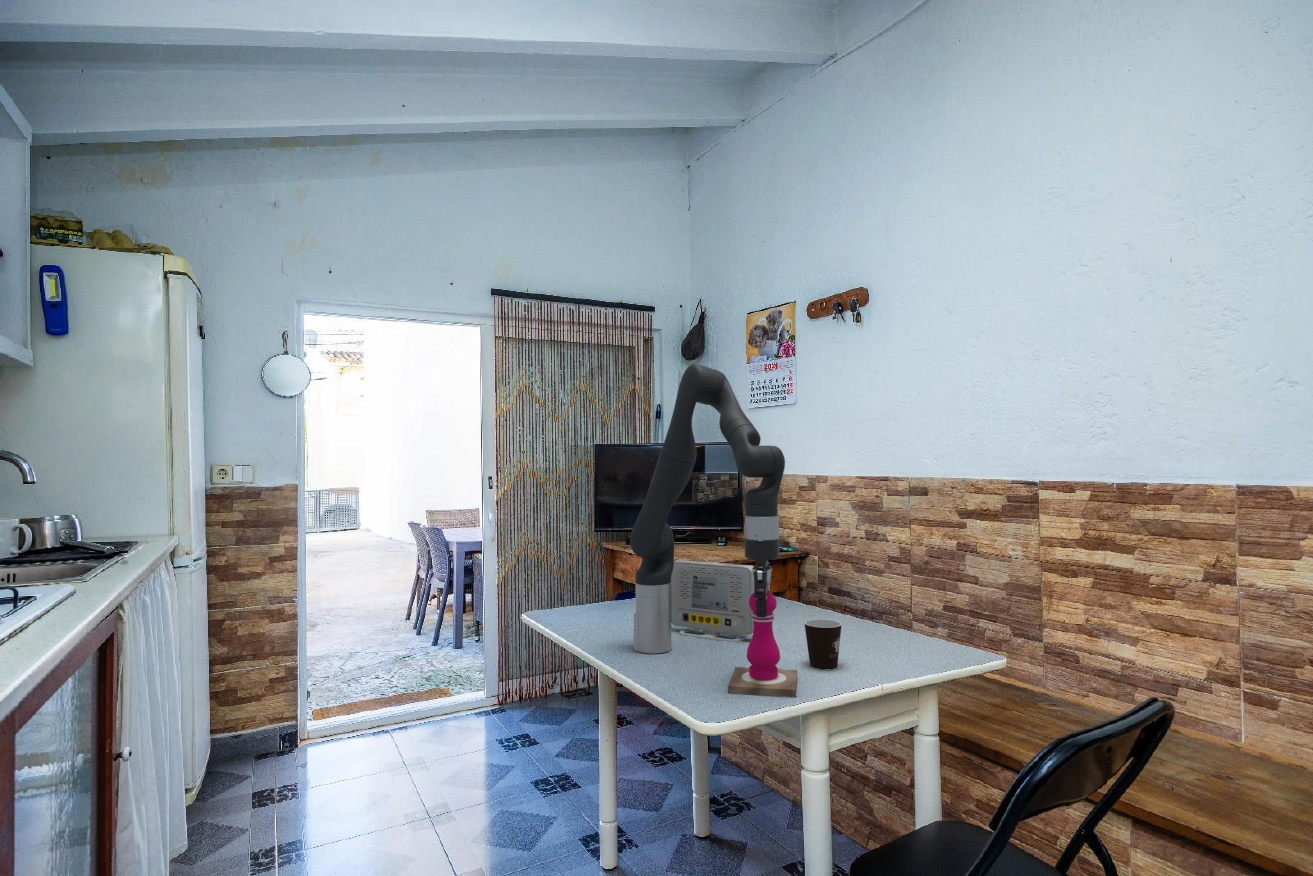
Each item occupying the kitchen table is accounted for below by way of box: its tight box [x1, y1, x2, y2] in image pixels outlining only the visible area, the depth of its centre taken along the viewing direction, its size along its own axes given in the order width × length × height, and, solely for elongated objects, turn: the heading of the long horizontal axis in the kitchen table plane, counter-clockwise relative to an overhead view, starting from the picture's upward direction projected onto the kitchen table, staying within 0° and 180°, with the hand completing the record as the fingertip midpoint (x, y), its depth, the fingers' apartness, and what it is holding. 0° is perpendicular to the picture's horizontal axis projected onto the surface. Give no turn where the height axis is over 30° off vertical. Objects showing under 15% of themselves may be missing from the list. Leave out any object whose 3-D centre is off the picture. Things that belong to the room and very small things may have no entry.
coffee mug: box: [804, 618, 843, 670], centre depth 171 cm, size 12×9×10 cm
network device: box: [671, 559, 754, 643], centre depth 200 cm, size 26×9×20 cm, turn 58°
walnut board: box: [727, 666, 798, 698], centre depth 156 cm, size 14×14×2 cm
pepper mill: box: [746, 589, 781, 680], centre depth 157 cm, size 7×7×20 cm
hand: (762, 613), depth 157 cm, fingers closed on pepper mill, 6 cm apart
